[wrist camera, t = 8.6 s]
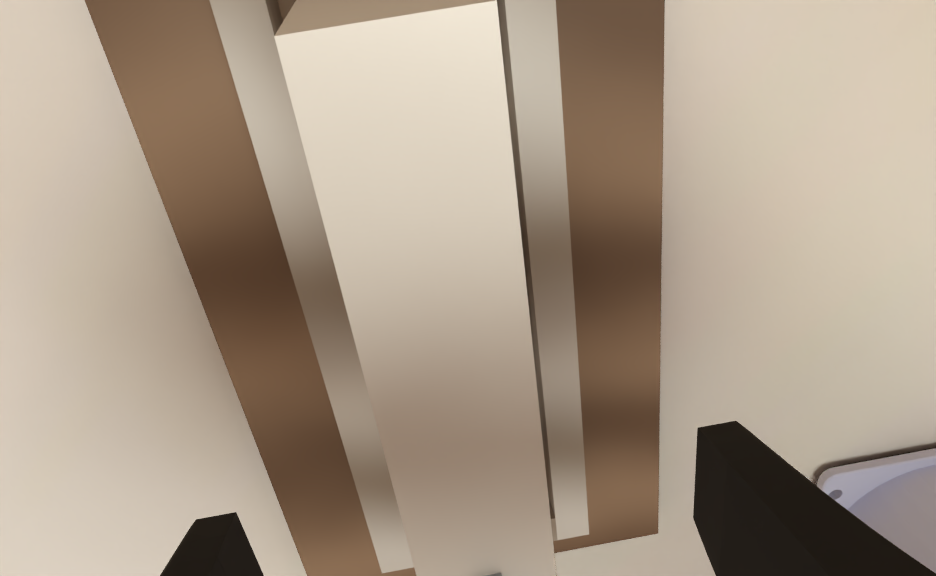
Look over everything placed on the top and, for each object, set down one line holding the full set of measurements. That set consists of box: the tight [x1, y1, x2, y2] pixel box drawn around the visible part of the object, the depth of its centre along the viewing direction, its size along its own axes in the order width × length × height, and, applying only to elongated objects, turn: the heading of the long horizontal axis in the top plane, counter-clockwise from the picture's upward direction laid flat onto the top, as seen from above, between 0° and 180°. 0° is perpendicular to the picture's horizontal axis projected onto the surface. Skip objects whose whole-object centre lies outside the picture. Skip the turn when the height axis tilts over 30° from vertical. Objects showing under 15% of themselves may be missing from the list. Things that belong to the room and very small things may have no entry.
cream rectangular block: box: [274, 0, 557, 576], centre depth 15 cm, size 14×3×8 cm, turn 8°
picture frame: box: [85, 0, 665, 576], centre depth 18 cm, size 24×12×2 cm, turn 8°
